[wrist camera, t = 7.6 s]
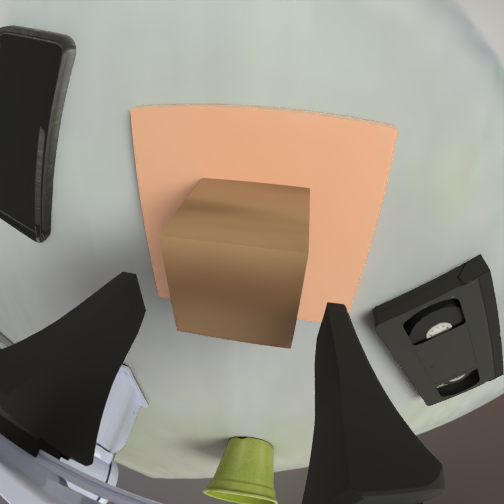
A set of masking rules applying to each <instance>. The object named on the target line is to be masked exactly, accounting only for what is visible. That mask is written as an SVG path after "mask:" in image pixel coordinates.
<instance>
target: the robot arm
mask: <svg viewBox="0 0 504 504" xmlns="http://www.w3.org/2000/svg"><path fill="white" fill-rule="evenodd" d="M145 312H146V309H145V306H144V302H143V299H142V295H141V291H140V287H139V283H138V280H137V276H136V274H132V273H127V272H122V273H121V274H119V275H118V276H116V277H115V278H114V279H112V280H111V281H110V282H108V283H107V284H106V285H105V286H103V287H102V288H101V289H99V290H98V291H97V292H95V293H94V294H93V295H92V296H90V297H89V298H88V299H86V300H85V301H84V302H82V303H81V304H80V305H78V306H77V307H76V308H74V309H73V310H71V311H70V312H69V313H67V314H66V315H64V316H63V317H62V318H60V319H59V320H57V321H56V322H54V323H53V324H51V325H49V326H48V327H46V328H44V329H43V330H41V331H39V332H37V333H35V334H33V335H32V336H30V337H28V338H26V339H24V340H22V341H20V342H18V343H15V344H13V345H11V346H9V347H6V348H4V349H1V350H0V495H1V496H2V497H3V498H4V499H5V500H6V501H7V502H8V503H9V504H106V503H107V502H108V501H111V502H113V503H115V504H163V503H159V502H156V501H153V500H150V499H147V498H144V497H141V496H138V495H136V494H133V493H130V492H128V491H125V490H123V489H120V488H118V487H115V486H116V483H117V479H118V468H117V465H116V462H115V461H114V460H112V458H113V456H114V455H113V453H116V452H118V451H119V450H121V449H122V448H123V447H124V445H125V444H126V442H127V440H128V437H129V434H130V432H131V429H132V427H133V424H134V422H135V419H136V417H137V414H138V412H139V409H140V407H144V408H148V406H149V405H148V403H147V401H146V400H145V398H144V396H143V394H142V392H141V390H140V388H139V386H138V385H137V383H136V381H135V379H134V377H133V375H132V373H131V371H130V369H129V368H128V367H127V366H125V365H122V363H123V361H124V359H125V357H126V355H127V353H128V351H129V349H130V348H131V346H132V344H133V342H134V340H135V338H136V336H137V334H138V331H139V329H140V326H141V323H142V320H143V318H144V315H145ZM444 491H445V478H444V472H443V466H442V464H441V463H440V462H439V461H438V460H437V459H436V458H435V457H434V456H433V455H432V454H431V453H430V452H429V450H427V448H426V447H425V446H424V445H423V444H422V442H421V441H420V440H419V439H418V438H417V437H416V435H415V434H414V433H413V432H412V430H411V429H410V428H409V426H408V425H407V424H406V422H405V421H404V419H403V418H402V417H401V415H400V414H399V413H398V411H397V410H396V408H395V407H394V405H393V404H392V402H391V401H390V399H389V397H388V396H387V394H386V392H385V391H384V389H383V387H382V386H381V384H380V382H379V380H378V379H377V377H376V375H375V373H374V371H373V369H372V367H371V365H370V363H369V361H368V359H367V357H366V355H365V352H364V350H363V348H362V346H361V344H360V341H359V339H358V337H357V334H356V332H355V329H354V327H353V324H352V322H351V319H350V316H349V314H348V311H347V308H346V306H345V305H344V304H339V303H330V302H327V305H326V309H325V312H324V316H323V319H322V323H321V326H320V330H319V333H318V336H317V342H316V354H315V426H314V435H313V443H312V450H311V457H310V463H309V470H308V475H307V481H306V486H305V492H304V496H303V501H302V504H423V502H424V501H427V500H430V499H432V498H435V497H437V496H439V495H441V494H442V493H443V492H444Z"/></svg>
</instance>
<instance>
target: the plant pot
mask: <svg viewBox="0 0 504 504" xmlns="http://www.w3.org/2000/svg"><path fill="white" fill-rule="evenodd" d="M273 480H274V479H273V446H271V445H270V444H269V443H268V442H266V441H264V440H260V439H256V438H251V437H250V438H249V437H247V438H244V439H239V438H238V437H235V438H231V439H230V440H229V442H228V444H227V447H226V449H225V452H224V454H223V457H222V459H221V461H220V464H219V466H218V469H217V471H216V473H215V475H214V478H213V480H211V481H210V483H209V485H208V487H207V489H204V490H203V493H205V494H207V495H209V496H211V497H214V498H218V499H222V500H226V501H231V502H236V503H241V504H278V501H276V500H275V491H274V484H273V483H274V481H273Z"/></svg>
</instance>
